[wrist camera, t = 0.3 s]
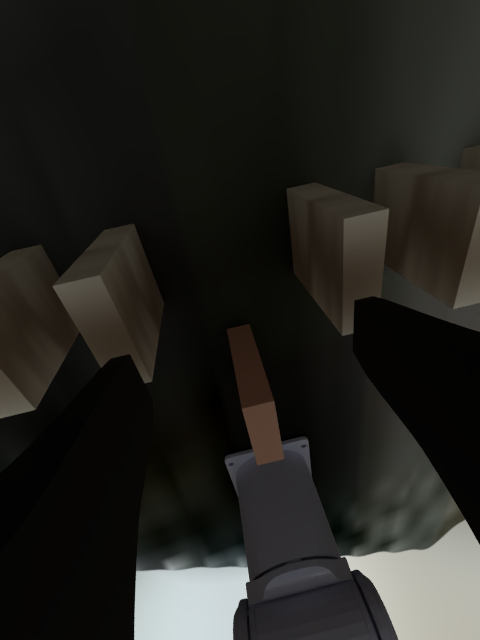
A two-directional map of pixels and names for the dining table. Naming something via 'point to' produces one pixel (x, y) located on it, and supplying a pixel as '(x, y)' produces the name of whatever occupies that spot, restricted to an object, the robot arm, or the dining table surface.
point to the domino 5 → (470, 158)
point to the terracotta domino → (255, 396)
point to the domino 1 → (30, 329)
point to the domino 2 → (115, 299)
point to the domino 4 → (433, 228)
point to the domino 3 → (337, 248)
